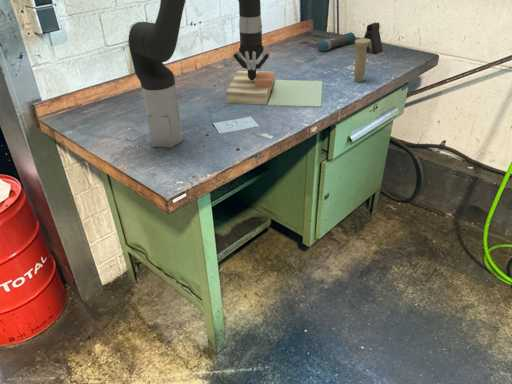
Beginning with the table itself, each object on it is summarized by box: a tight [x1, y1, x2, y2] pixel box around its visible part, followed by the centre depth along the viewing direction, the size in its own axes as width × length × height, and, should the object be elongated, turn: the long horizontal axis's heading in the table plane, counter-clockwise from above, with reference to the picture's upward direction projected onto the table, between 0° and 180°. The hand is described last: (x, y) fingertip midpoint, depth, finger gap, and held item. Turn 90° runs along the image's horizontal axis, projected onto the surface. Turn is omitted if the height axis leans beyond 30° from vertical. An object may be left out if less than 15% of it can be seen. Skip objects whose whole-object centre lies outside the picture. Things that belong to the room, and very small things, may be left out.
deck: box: [225, 70, 275, 105], centre depth 156 cm, size 22×14×4 cm, turn 171°
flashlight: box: [317, 31, 356, 53], centre depth 199 cm, size 5×22×5 cm, turn 130°
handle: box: [353, 37, 371, 83], centre depth 159 cm, size 5×6×15 cm
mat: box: [267, 79, 324, 108], centre depth 155 cm, size 24×18×1 cm
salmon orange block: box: [255, 71, 275, 88], centre depth 153 cm, size 9×6×2 cm, turn 173°
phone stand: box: [363, 21, 383, 55], centre depth 190 cm, size 9×6×12 cm, turn 47°
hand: (252, 79), depth 154 cm, fingers closed
